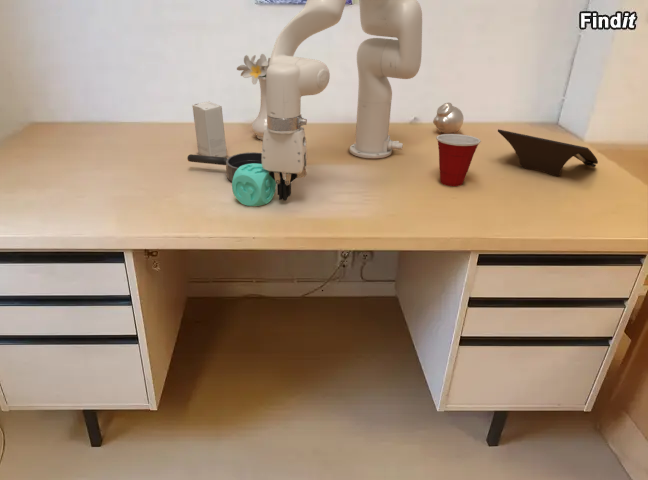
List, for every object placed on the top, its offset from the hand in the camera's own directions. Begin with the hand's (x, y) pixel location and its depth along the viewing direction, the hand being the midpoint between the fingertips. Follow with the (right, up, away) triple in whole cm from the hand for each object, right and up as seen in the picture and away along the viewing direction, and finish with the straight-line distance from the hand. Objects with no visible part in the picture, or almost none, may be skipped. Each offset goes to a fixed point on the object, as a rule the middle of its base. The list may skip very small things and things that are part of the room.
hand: (284, 197), depth 134 cm
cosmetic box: (-22, +17, +30) cm, 41 cm away
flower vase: (-5, +26, +45) cm, 52 cm away
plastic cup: (+44, +5, +11) cm, 46 cm away
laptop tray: (+73, +11, +20) cm, 76 cm away
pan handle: (-21, +12, +17) cm, 29 cm away
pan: (-9, +8, +16) cm, 20 cm away
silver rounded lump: (+53, +27, +46) cm, 75 cm away
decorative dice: (-7, 0, +2) cm, 8 cm away
